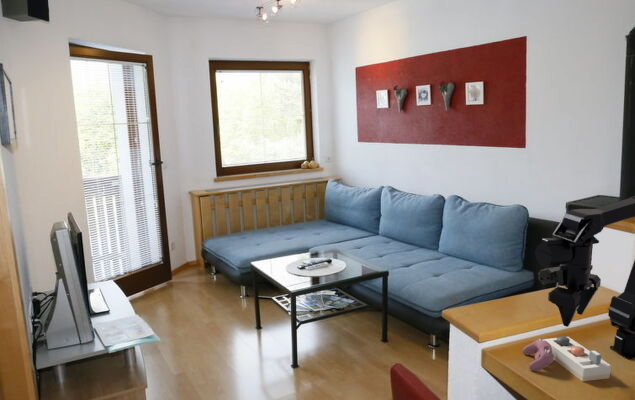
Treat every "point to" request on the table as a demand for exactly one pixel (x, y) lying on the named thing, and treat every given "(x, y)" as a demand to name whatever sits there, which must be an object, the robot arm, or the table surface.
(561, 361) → the switch panel
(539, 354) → the video game controller
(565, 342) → the black button
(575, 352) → the salmon orange button
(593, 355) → the slide switch
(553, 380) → the table surface
